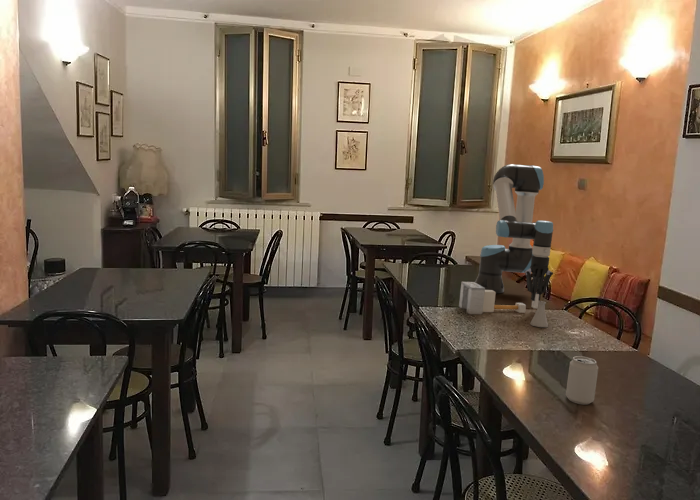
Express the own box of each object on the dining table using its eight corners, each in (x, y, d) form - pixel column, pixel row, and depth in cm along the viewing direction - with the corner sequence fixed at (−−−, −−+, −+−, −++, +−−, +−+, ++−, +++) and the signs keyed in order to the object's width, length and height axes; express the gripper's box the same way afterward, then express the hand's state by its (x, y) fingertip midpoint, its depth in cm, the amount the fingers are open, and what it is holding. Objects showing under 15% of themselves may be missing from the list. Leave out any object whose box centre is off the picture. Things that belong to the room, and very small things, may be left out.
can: (560, 394, 172) (565, 354, 170) (585, 395, 172) (591, 355, 170) (572, 405, 164) (578, 363, 162) (598, 406, 165) (604, 364, 163)
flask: (549, 329, 242) (552, 304, 241) (530, 326, 244) (533, 302, 242) (547, 324, 249) (550, 300, 248) (529, 322, 251) (531, 298, 249)
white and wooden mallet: (520, 310, 270) (523, 290, 269) (525, 312, 267) (527, 292, 265) (477, 309, 266) (479, 289, 265) (480, 311, 262) (482, 291, 261)
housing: (471, 307, 270) (474, 282, 268) (482, 314, 258) (485, 288, 257) (458, 306, 269) (461, 281, 267) (469, 313, 257) (471, 287, 255)
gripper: (531, 256, 261) (525, 309, 264) (558, 257, 263) (552, 310, 267) (523, 253, 268) (517, 305, 272) (549, 254, 271) (543, 305, 274)
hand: (534, 307), depth 269 cm, fingers closed
